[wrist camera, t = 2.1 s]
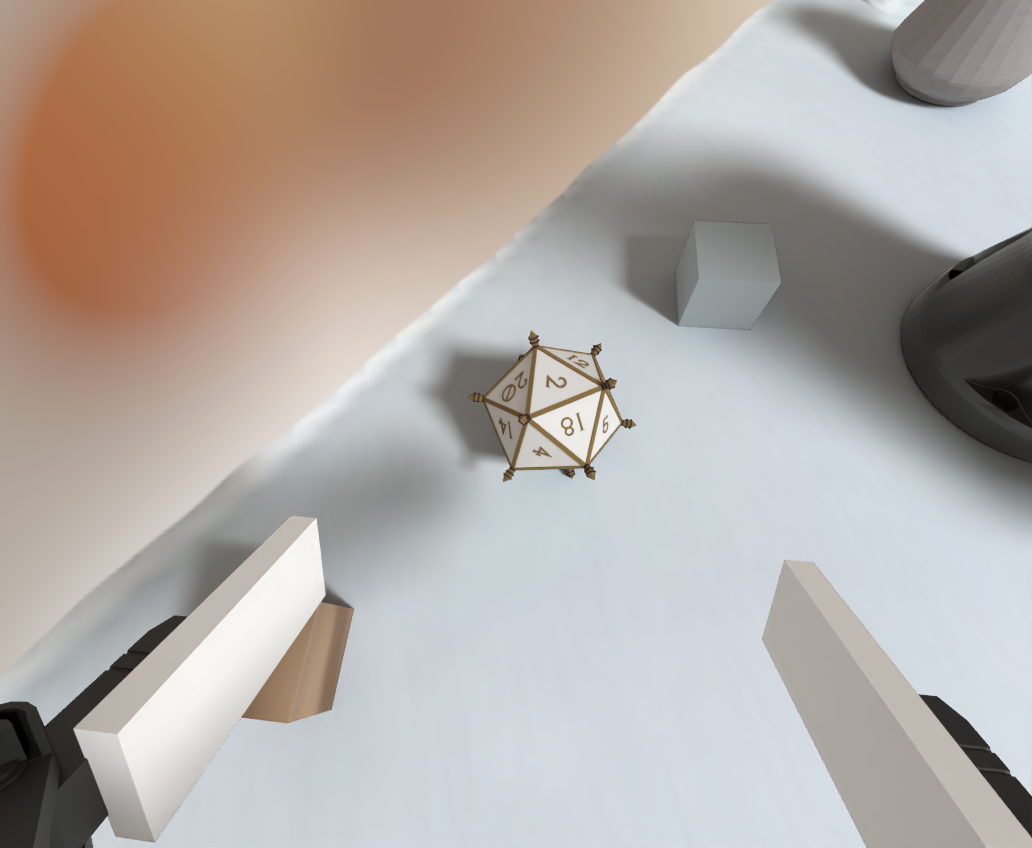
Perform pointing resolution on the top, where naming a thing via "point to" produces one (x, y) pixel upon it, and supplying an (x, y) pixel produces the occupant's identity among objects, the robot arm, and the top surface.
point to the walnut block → (306, 669)
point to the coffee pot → (963, 49)
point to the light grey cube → (726, 274)
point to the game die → (553, 410)
